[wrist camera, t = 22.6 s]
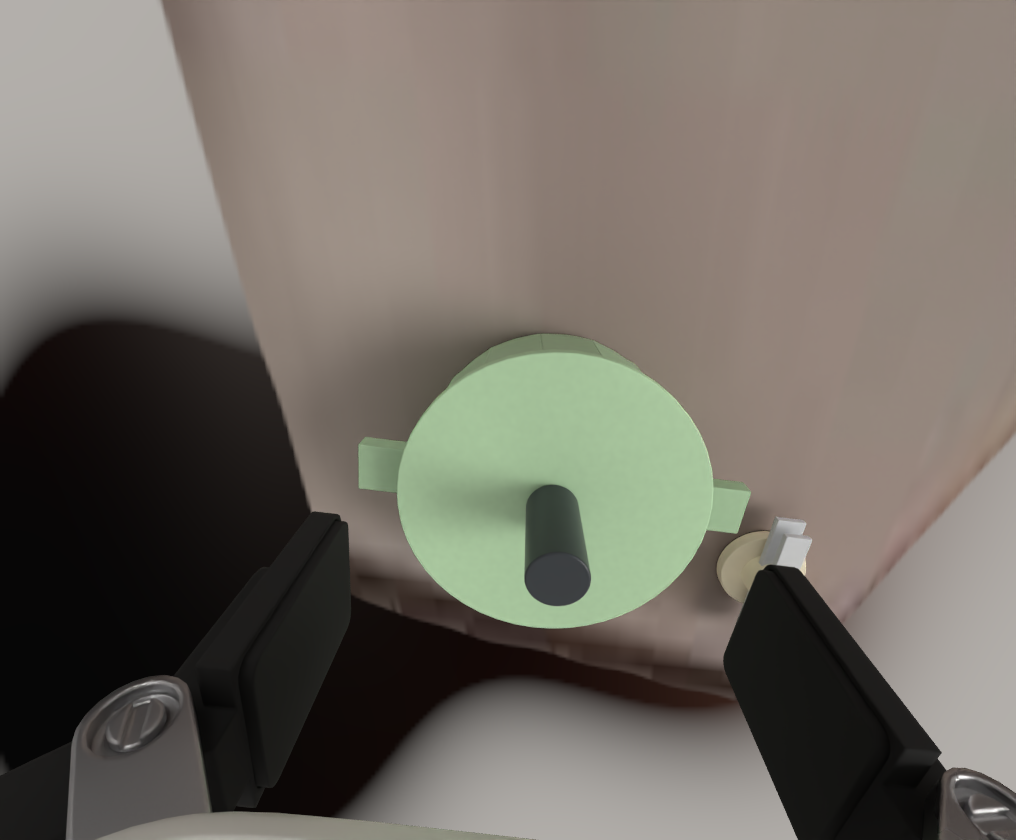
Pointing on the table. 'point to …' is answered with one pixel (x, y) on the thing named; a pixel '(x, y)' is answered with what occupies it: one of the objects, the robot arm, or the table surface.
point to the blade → (762, 555)
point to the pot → (385, 455)
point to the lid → (555, 489)
